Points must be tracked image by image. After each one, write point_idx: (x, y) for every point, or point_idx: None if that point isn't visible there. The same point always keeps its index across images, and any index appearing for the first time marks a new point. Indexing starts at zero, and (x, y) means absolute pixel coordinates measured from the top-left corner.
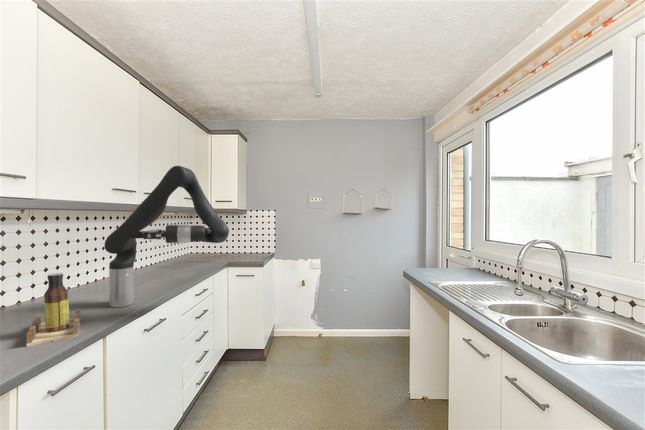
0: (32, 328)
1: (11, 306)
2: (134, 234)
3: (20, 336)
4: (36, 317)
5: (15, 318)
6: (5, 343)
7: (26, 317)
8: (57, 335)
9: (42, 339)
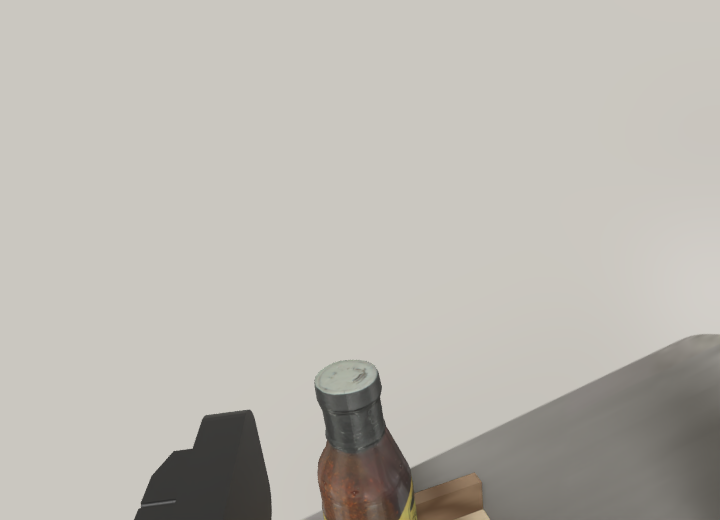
0: None
1: (708, 338)
2: (149, 495)
3: None
4: (454, 481)
5: (580, 407)
6: None
7: (592, 428)
8: None
9: None
